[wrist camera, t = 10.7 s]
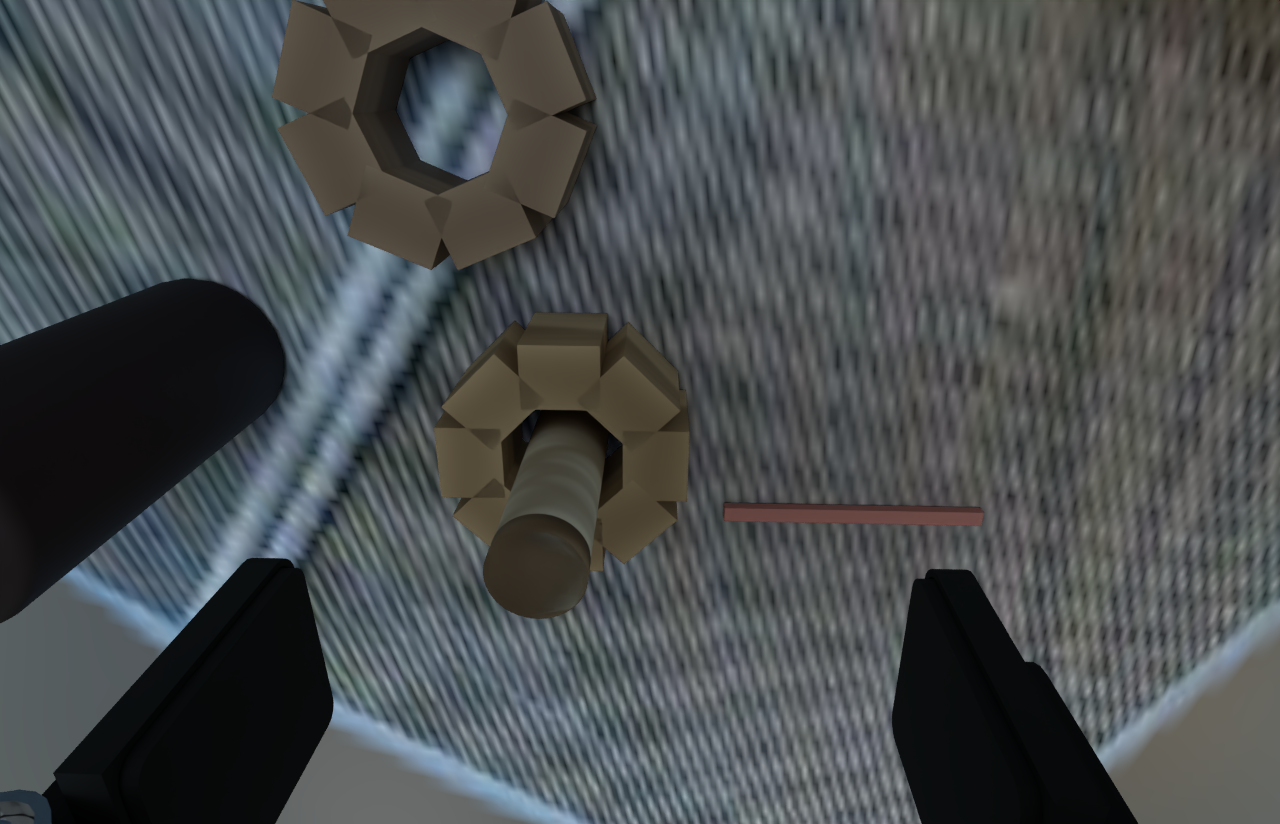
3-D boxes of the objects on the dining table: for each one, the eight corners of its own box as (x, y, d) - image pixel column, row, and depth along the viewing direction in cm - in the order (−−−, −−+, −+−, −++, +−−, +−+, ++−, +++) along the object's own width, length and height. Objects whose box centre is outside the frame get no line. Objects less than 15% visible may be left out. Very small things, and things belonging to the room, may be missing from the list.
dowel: (610, 386, 34) (587, 531, 23) (611, 452, 35) (589, 619, 24) (538, 385, 34) (479, 529, 23) (541, 451, 35) (487, 617, 24)
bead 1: (523, -88, 27) (498, -121, 23) (630, 185, 30) (626, 200, 26) (282, 31, 28) (218, 21, 24) (411, 277, 32) (374, 304, 28)
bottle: (187, 440, 35) (-329, 824, 17) (101, 305, 33) (-614, 582, 14) (316, 396, 34) (-84, 753, 16) (236, 253, 32) (-346, 480, 13)
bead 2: (688, 314, 32) (692, 347, 28) (681, 517, 36) (684, 572, 32) (454, 311, 32) (424, 343, 28) (473, 513, 36) (449, 568, 32)
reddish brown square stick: (979, 507, 36) (983, 512, 35) (977, 520, 36) (981, 525, 35) (724, 502, 36) (724, 508, 35) (723, 515, 36) (724, 520, 36)
